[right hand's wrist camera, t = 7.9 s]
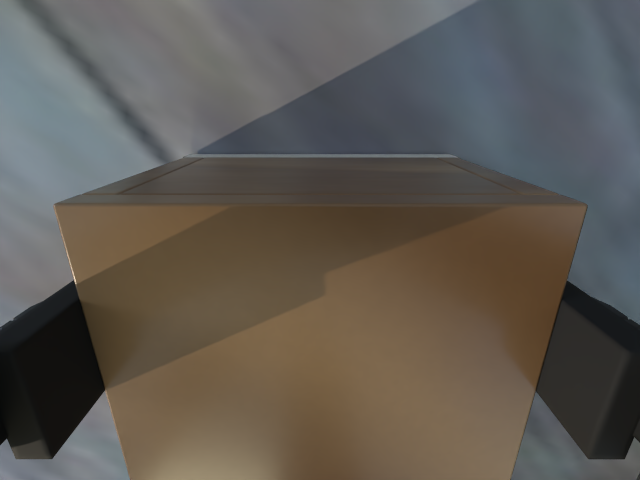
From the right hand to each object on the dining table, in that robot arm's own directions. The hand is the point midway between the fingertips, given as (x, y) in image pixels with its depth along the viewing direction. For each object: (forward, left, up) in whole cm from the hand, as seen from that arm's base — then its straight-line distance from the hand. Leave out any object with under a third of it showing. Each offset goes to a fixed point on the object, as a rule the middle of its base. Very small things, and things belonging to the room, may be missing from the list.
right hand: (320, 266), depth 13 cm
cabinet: (+6, +3, -4) cm, 7 cm away
